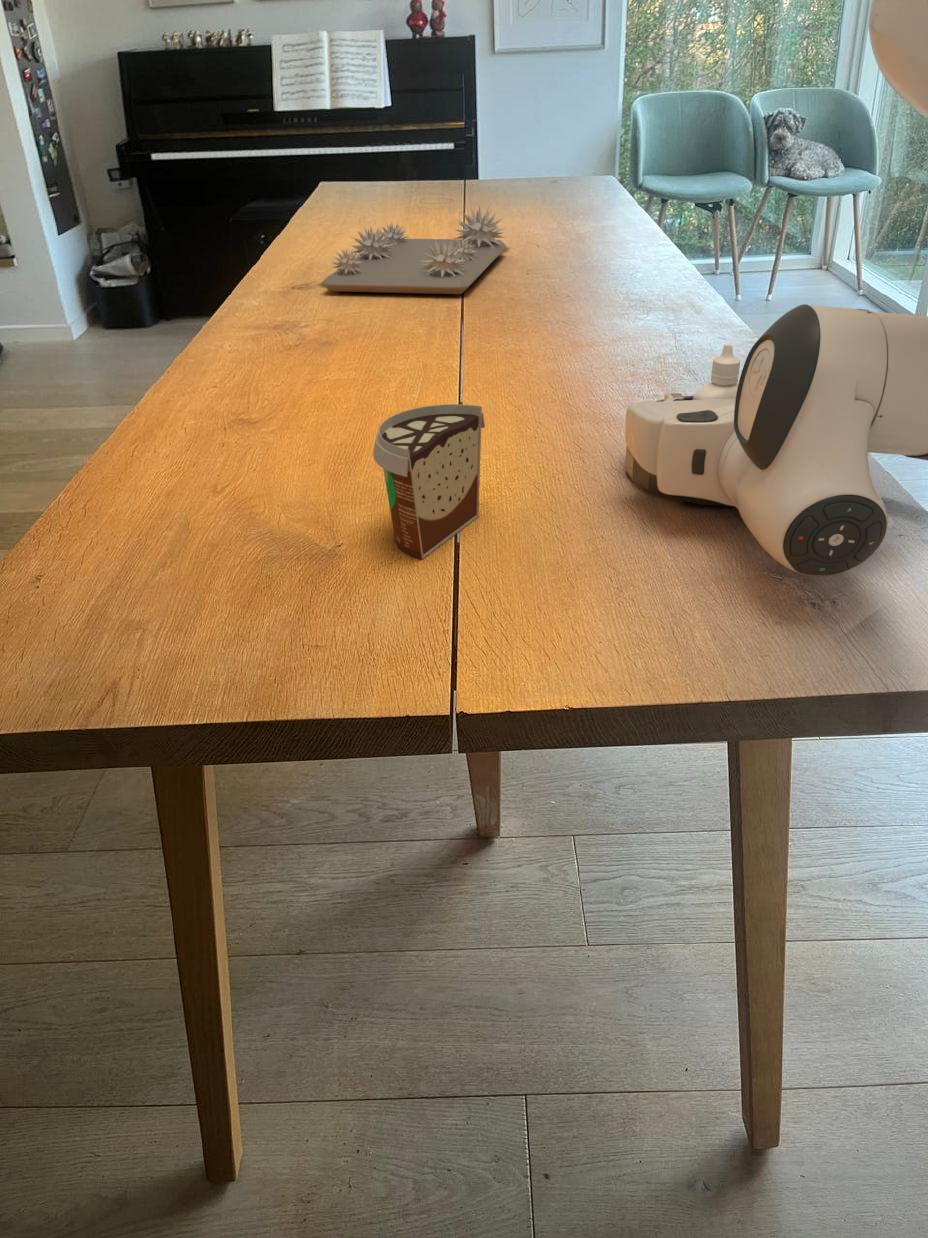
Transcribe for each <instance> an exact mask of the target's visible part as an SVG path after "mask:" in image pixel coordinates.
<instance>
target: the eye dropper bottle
mask: <svg viewBox="0 0 928 1238" xmlns="http://www.w3.org/2000/svg"><path fill="white" fill-rule="evenodd" d="M740 367H741V360H740V359H739V358H738V357H735V355H734V349H733V344H732V343H725V344H724V345H723V348H722V351H721V354H719V356H716V357H714V358H713V359H712V366H711V376H710V381H711V382H710V383H707V384H706V385H705V386H703V387H701V388H700V389H698V390H697V392H695V394H694V395H693V396H694V397H693V400H709V399H731V398H736V394H737V388H738V384H739V378H740V377H739V376H740Z"/></svg>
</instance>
